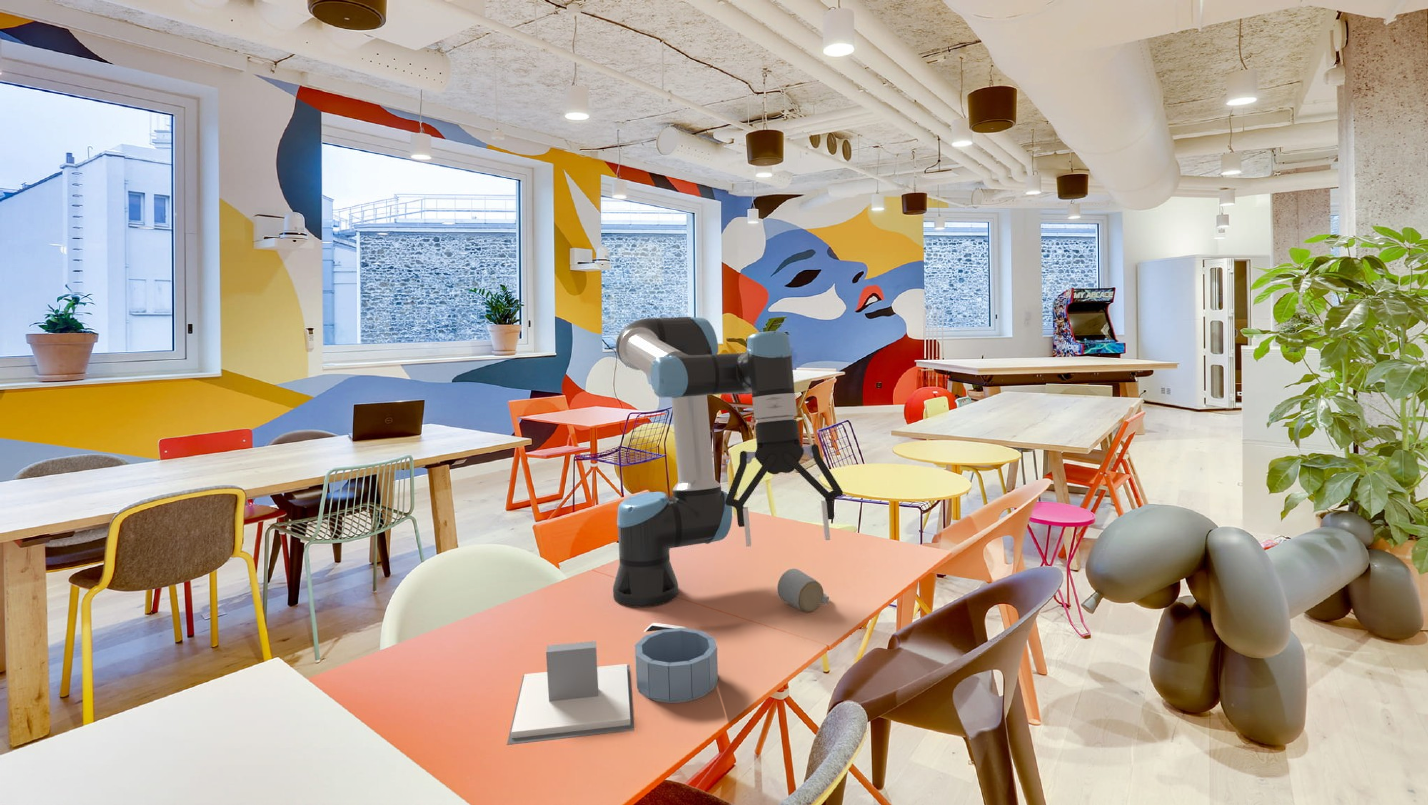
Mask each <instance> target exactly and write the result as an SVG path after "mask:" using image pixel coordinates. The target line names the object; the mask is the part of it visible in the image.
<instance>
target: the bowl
mask: <svg viewBox="0 0 1428 805" xmlns="http://www.w3.org/2000/svg"><path fill="white" fill-rule="evenodd" d="M634 654H635V657H634V658H635V660H634V661H635V662H634V663H635V680H636V689H637V690H638V692H639V693H640V694H641V695H642V696H644V697H645V698H647V699H649V700H651V701H654V702H655V701H656V702H659V703H660V702H661V703H667V704H669V703H670V704H673V703H674V704H675V703H676V704H677V703H687V702H690V701H694V700H698V699H699V698H703V697H705V696H706V695H708V694H709V693H711V691H713V690H714V688H715V687H717V685H718V680H719V676H718V675H719V671H718V668H719V667H718V645H717V643H716V640H715V637H713V636H712V635H710V634H708V633H706V632H704V631H703V630H699V629H693V628H687V627H686V628H675V629H664V630H658V631H653V632H651V633H649V634H645V635H643V636H642V638H640V640H638V641H637V642H636V643H635V644H634Z"/></svg>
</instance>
